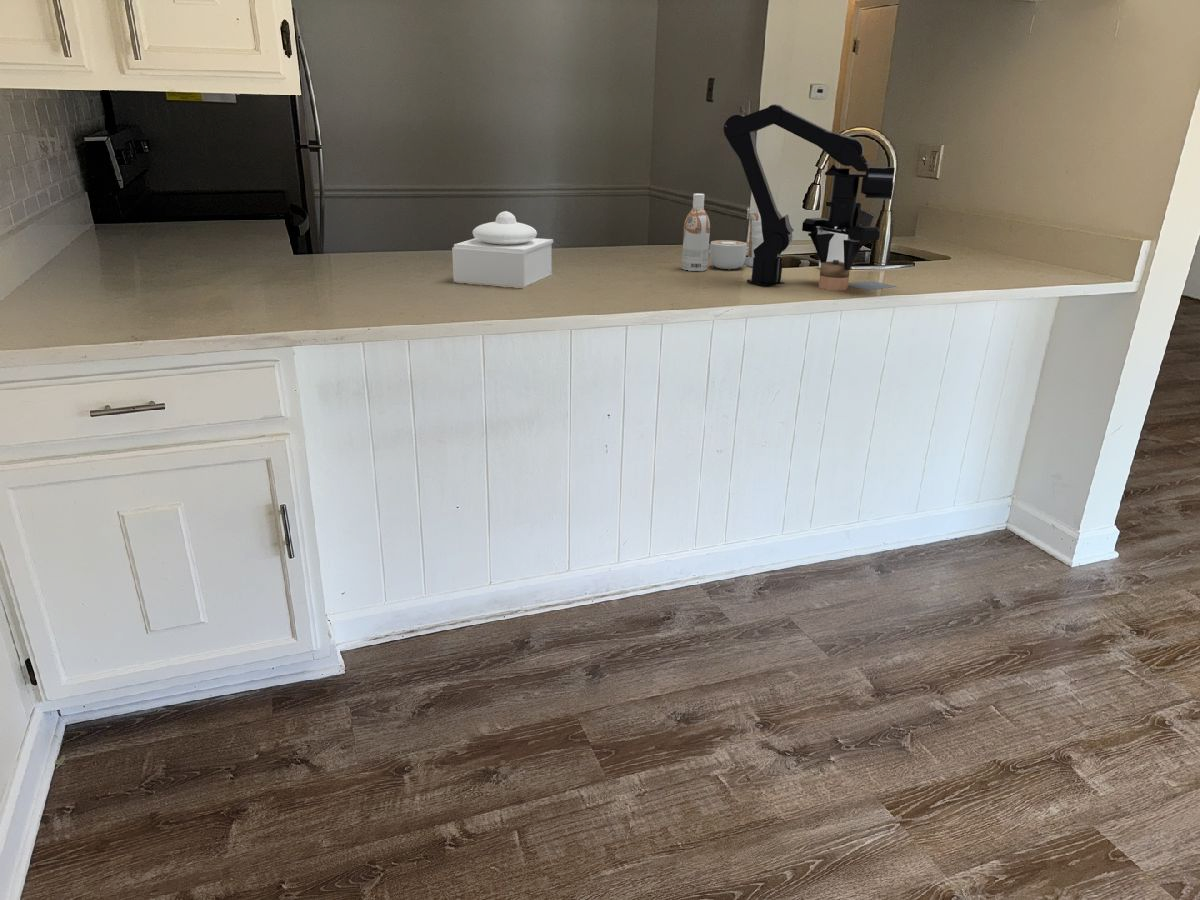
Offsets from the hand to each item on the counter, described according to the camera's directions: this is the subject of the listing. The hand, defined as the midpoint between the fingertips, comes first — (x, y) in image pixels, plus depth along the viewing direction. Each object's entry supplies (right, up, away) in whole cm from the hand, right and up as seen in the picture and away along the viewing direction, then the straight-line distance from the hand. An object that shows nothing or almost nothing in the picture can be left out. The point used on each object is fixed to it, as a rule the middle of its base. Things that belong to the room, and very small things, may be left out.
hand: (835, 267), depth 196 cm
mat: (+9, -4, +5) cm, 11 cm away
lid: (0, -2, +1) cm, 2 cm away
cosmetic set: (-22, +5, +25) cm, 34 cm away
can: (+7, +5, +28) cm, 29 cm away
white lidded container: (-77, -2, +5) cm, 77 cm away
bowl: (0, -5, +2) cm, 5 cm away
